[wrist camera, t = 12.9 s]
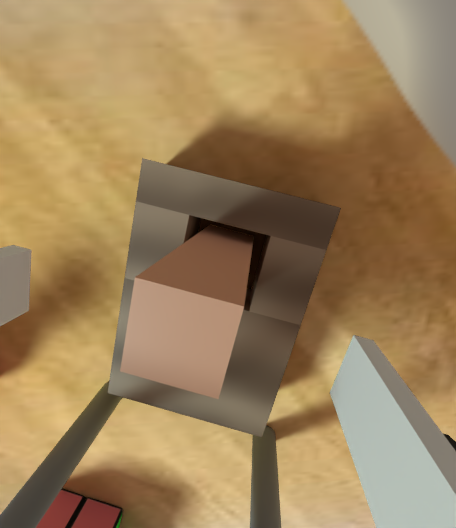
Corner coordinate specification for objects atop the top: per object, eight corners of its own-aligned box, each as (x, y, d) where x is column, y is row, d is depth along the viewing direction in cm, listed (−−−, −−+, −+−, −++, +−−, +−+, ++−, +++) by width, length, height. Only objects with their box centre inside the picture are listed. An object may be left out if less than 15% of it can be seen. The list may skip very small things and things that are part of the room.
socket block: (165, 164, 25) (142, 158, 20) (324, 204, 24) (340, 207, 19) (132, 360, 30) (107, 392, 25) (261, 396, 29) (261, 437, 25)
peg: (210, 224, 26) (134, 277, 10) (253, 235, 25) (244, 306, 10) (201, 266, 27) (120, 371, 11) (242, 277, 26) (218, 399, 11)
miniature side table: (112, 297, 28) (-284, 585, 8) (309, 350, 28) (459, 837, 7) (98, 402, 32) (-202, 795, 11) (272, 452, 31) (297, 979, 10)
